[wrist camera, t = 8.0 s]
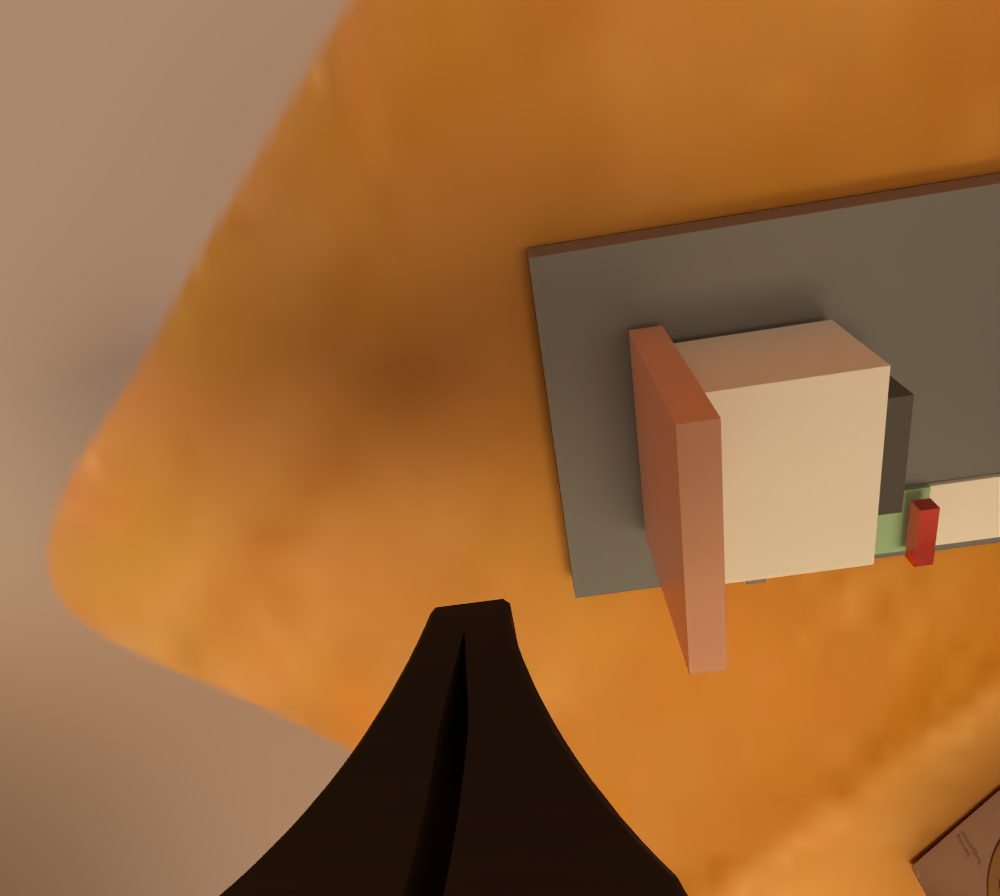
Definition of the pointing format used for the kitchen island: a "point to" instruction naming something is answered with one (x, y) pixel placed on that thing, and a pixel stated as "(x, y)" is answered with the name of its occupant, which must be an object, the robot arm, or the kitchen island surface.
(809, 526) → the cream and red block
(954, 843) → the coffee box
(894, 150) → the kitchen island surface
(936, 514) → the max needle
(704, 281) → the board
